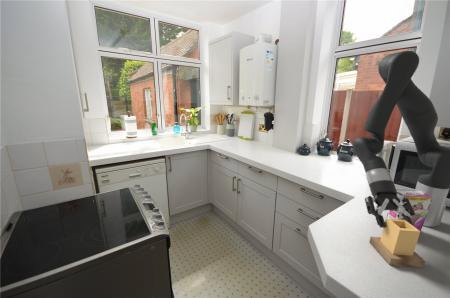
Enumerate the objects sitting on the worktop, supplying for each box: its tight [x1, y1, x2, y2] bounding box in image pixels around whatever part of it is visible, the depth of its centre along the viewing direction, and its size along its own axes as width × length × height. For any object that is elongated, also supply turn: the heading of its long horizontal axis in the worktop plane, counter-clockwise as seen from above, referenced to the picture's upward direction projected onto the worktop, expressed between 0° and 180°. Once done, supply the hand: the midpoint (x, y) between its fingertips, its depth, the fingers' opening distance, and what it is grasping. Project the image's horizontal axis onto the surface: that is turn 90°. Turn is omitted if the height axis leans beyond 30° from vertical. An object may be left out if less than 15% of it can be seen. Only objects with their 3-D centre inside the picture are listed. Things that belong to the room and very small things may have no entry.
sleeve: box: [380, 218, 421, 256], centre depth 64 cm, size 6×6×9 cm
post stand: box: [368, 236, 426, 269], centre depth 65 cm, size 10×10×10 cm
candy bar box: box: [385, 190, 433, 233], centre depth 77 cm, size 11×5×16 cm, turn 92°
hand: (396, 228), depth 66 cm, fingers open, 8 cm apart
